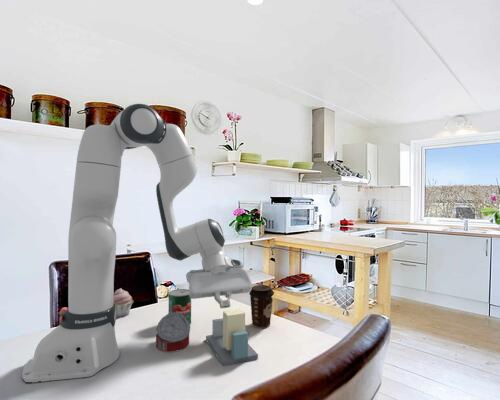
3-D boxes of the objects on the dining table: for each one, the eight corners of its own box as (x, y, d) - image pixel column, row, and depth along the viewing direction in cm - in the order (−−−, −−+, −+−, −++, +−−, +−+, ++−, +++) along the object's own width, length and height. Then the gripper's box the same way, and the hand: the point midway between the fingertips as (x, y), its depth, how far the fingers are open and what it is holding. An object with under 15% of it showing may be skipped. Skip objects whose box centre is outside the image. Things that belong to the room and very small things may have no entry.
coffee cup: (274, 320, 116) (274, 284, 115) (273, 330, 107) (274, 291, 107) (250, 319, 116) (250, 284, 116) (247, 329, 108) (248, 290, 108)
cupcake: (132, 318, 118) (132, 290, 117) (104, 320, 115) (104, 292, 115) (134, 309, 127) (134, 284, 126) (109, 311, 124) (109, 285, 124)
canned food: (187, 354, 100) (202, 326, 100) (171, 366, 91) (188, 336, 90) (160, 332, 104) (174, 306, 103) (141, 342, 94) (157, 313, 94)
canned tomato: (180, 329, 107) (180, 297, 107) (163, 324, 111) (163, 293, 111) (196, 322, 114) (196, 291, 114) (179, 317, 118) (179, 287, 118)
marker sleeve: (227, 350, 88) (227, 315, 88) (222, 344, 92) (223, 310, 92) (244, 347, 91) (245, 313, 90) (239, 341, 94) (240, 308, 94)
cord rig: (223, 366, 84) (223, 337, 84) (205, 339, 100) (206, 315, 100) (257, 358, 88) (258, 331, 88) (236, 334, 104) (236, 311, 104)
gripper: (186, 265, 101) (193, 306, 92) (247, 260, 109) (258, 298, 100) (183, 276, 105) (190, 316, 96) (242, 271, 113) (252, 307, 104)
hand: (225, 307), depth 98 cm, fingers closed
